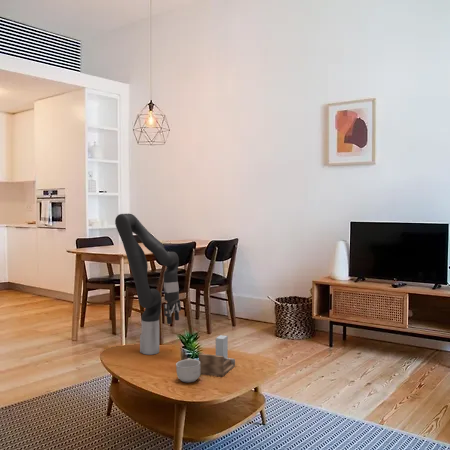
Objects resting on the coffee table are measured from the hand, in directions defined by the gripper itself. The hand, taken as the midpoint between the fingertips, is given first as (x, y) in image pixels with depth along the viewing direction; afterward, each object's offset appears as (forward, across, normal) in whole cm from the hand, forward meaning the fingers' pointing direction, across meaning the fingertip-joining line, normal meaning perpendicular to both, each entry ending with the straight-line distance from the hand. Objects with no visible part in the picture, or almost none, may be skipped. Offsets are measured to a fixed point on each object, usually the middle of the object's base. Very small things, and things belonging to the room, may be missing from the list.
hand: (173, 322), depth 252 cm
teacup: (+19, +28, +21) cm, 40 cm away
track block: (+19, +12, +28) cm, 36 cm away
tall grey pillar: (+19, -1, +25) cm, 32 cm away
